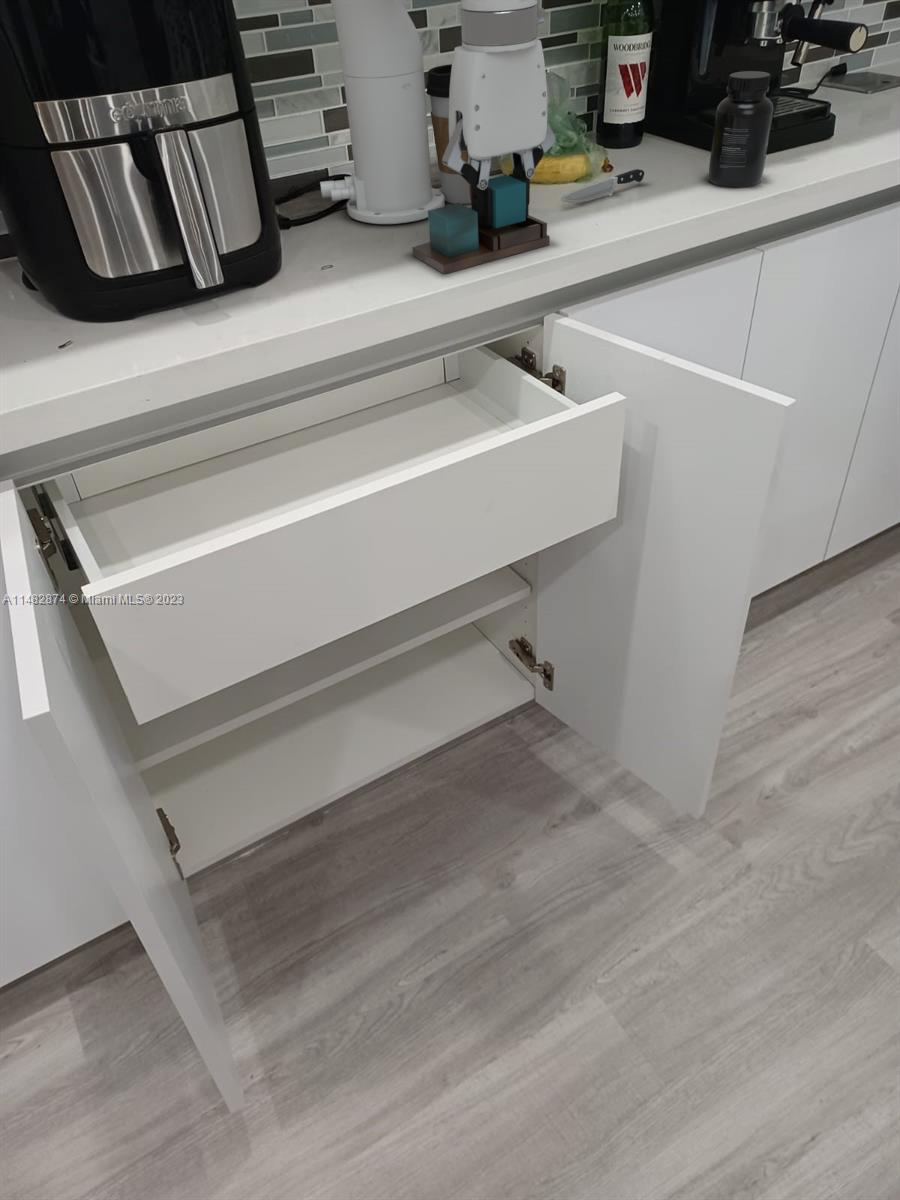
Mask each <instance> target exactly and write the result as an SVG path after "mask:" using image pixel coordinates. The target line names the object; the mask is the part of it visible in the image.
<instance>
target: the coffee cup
mask: <svg viewBox="0 0 900 1200" xmlns="http://www.w3.org/2000/svg"><path fill="white" fill-rule="evenodd" d="M451 69H452V63H450V64H443V65H438V66H435V67H432V68H430V69H429V70H428V72H427V83H426V84H425V89H426V94H427V95H428V96H429V98H430V106H431V107H430V108H431V111H430V118H431V126H432V133H433V138H434V139H433V140H434V144H435V145H434V146H435V153H436V159H437V166H438V170H439V179H440V185H441V192H442V193H443V194H444V196H445V202H447V203H449V204H457V203H460V204H462V205H466V204H467V205H468V204H471V200H470V194H469V184H468V183H467V182H466V180H465V179H464V178H463V177H462V176H461V175H460V174H459V173H458V172H456V171H454V170H453V169H451V168H449V167H447V166H446V165H444V164H443V163H442V158H443V155H444V153H445V151H446V148H447V146H448V144H449V92H450V78H451ZM468 156H469V154H468V151H467V152H462V154H461V159H462V160H463V161H465V162H466V163H468Z"/></svg>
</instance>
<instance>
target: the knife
mask: <svg viewBox="0 0 900 1200" xmlns="http://www.w3.org/2000/svg"><path fill="white" fill-rule="evenodd" d="M644 176H645V171H644V170H643V169H639V168H635V169H631V170H629V171H626V172H623V173H620V174H617V175H614V176H611V177H609V178H607V179H604V180H601V181H597V182H595V183H594V182H593V183H591V184H589V185H586V186H585V185H584V186H583V187H580V188H577V189H575V190H572V191H571V192H568V193H565V194H564V195H562V196H561V197H560V198H559V200H560V201H562V202H566V203H582V202H589V201H592V200H597V199H600V198H603V197H608V196H610V197H611V196H612V195H613V193H614V190H615V186H616V185H624V184H628V183H633V182H636V183H637V182H638V183H641V182H642V181H643V179H644Z"/></svg>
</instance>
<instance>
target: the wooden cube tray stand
mask: <svg viewBox="0 0 900 1200" xmlns="http://www.w3.org/2000/svg"><path fill="white" fill-rule="evenodd" d="M427 219H428V232H429V242H426V243H421V244H418V245H415V246H412V247H411V250H412V251H411V252H412V256H413V257H414V258H416V259H417V260H419V261H421V262H423V263H425V264H426V265H428V266H430V267H432V268H433V269H435V270H436V271H438V272H440V273H441V274H442V275H446V274H449V273H453V272H457V271H460V270H464V269H467V268H468V269H469V268H472V267H476V266H478V265H482V264H486V263H489V262H492V261H496V260H500V259H504V258H508V257H511V256H515V255H518V254H521V253H525V252H528V251H532V250H536V249H539V248H542V247H546V246H549V245H550V243H551V241H550V240H551V237H550V235H548V223H547V222H546V221H543V220H541V219H539V218H537V217H535V216H532V215H529V214H528V216H527V217H526V221H522V222H519V223H515V224H511V225H507V226H503V227H499V228H495V227H493V226H489V227H486V226H484V225H482V224H480V223H478V213H477V212H476V211H474V210H472V208H471V207H468V206H467V205H465V204H460V203H457V204H455V203H452V204H450V205H445V206H444V207H441V208H437V209H433V210H429V211H428V218H427Z"/></svg>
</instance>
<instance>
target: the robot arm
mask: <svg viewBox="0 0 900 1200" xmlns="http://www.w3.org/2000/svg"><path fill="white" fill-rule="evenodd" d="M329 1H330V4H331V8H332V13H333V17H334V22H335V28H336V34H337V40H338V47H339V54H340V62H341V70H342V77H343V85H344V95H345V103H346V109H347V118H348V119H347V120H348V126H349V135H350V143H351V152H352V161H353V167H354V168H352V169H351V175H350V176H344V179H342V180H326V181H325V180H324V181H319V185H320V193H321V198H322V199H329V198H330V199H331V201H332V202H336V201H342V200H348V201H347V202H346V211H347V215H349V217H350V218H351V219H354V220H356V221H358V222H361V223H366V224H373V225H399V224H406V223H407V224H408V223H412V222H418V221H422V220H425V219H428V211H429V210H433V209H437V208H441V207H445V206H446V201H445V196H444V194H443V193H442V191H440V190H439V189H437V188H434V187H433V185H432V172H431V156H430V155H431V154H430V141H429V128H428V127H429V126H428V113H427V98H426V83H425V82H426V81H425V70H424V69H425V68H424V54H423V46H422V42H421V38H420V35H419V33H418V30H417V28H416V26H415V23H414V22H413V20H412V18H411V16H410V15H409V12H408V10H407V9H406V6H405V5H404V2H403V0H329ZM459 3H460V27H461V45H458V46H456V47H454V51H453V55H452V63H451V64H452V69H451V78H450V92H449V144H448V146H447V148H446V151H445V153H444V155H443V158H442V163H443V164H444V165H446V166H447V167H449V168H451V169H453V170H454V171H456V172H458V173H459V174H460V175H461V176H462V177H463V178H464V179H465V180H466V182H467V183H468V184H470V185H471V203H470V204H471V209H472V210H474V211H476V212H477V213H478V223H480V224H482V225H484V226H486V227H489V226H492V224H493V192H492V189H491V188H489V187H488V181H489V179H490V173H491V166H492V158H496V157H501V156H506V155H509V157H510V163H511V171H512V173H508V176H510V177H513V178H515V179H517V180H520V181H522V182H524V183H526V217H527V216H528V215H529V205H530V200H531V199H530V198H531V196H530V195H531V194H530V193H531V188H530V187H531V181H530V180H531V179H532V178H534V176H535V174H536V168H537V167H538V165H539V163H540V162H541V160H542V159H543V157H544V155H545V154H546V153H547V152H548V151H549V150H550V149H551V147H552V146H553V145H554V144H555V143H556V141H557V136H556V135H555V132H554V130H553V128H552V127H551V124H550V123H549V121H548V117H549V116H548V114H549V113H548V86H547V83H548V82H547V73H546V64H545V63H546V62H545V57H544V50H543V45H542V41H541V40H540V39H538V25H539V24H543V23H544V22H545V21H546V14H547V13H546V10H545V9H544V7H539V5H538V0H460V2H459ZM467 151H468V154H469V156H468V163H466V162H465V161H463V160H462V159H461V154H462V152H467Z"/></svg>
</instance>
